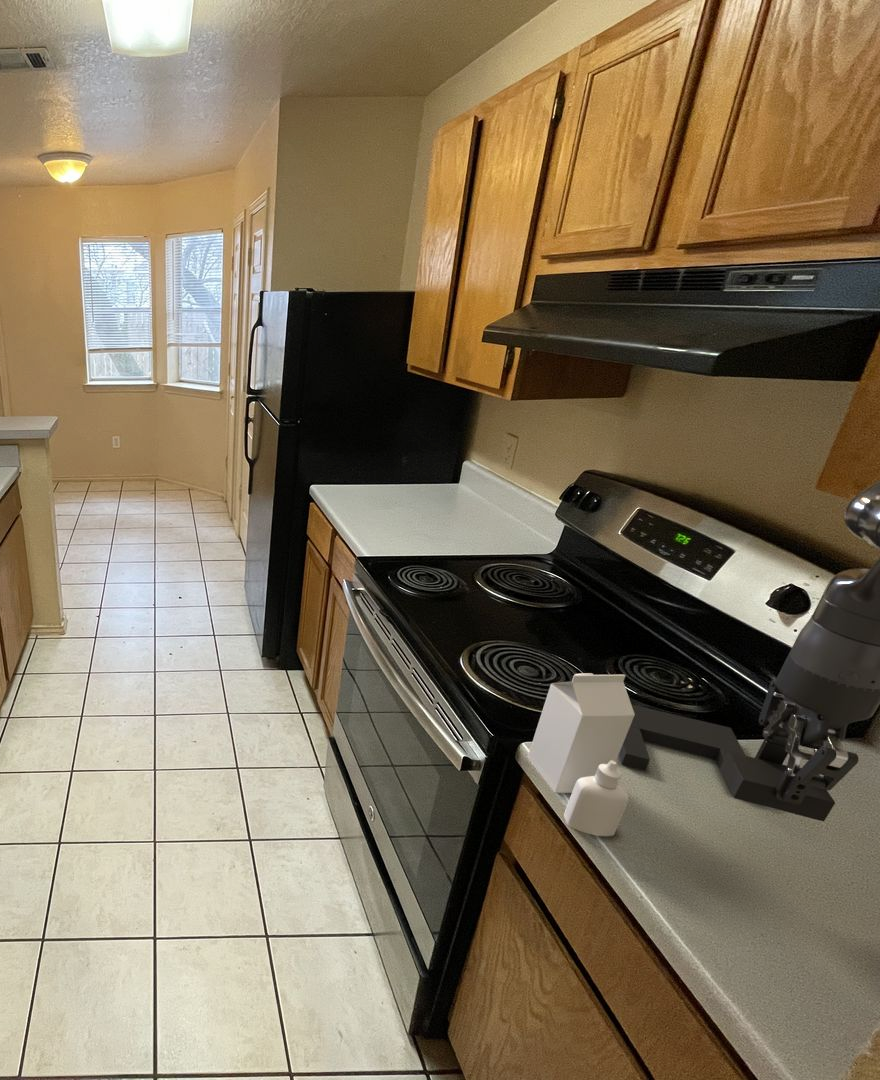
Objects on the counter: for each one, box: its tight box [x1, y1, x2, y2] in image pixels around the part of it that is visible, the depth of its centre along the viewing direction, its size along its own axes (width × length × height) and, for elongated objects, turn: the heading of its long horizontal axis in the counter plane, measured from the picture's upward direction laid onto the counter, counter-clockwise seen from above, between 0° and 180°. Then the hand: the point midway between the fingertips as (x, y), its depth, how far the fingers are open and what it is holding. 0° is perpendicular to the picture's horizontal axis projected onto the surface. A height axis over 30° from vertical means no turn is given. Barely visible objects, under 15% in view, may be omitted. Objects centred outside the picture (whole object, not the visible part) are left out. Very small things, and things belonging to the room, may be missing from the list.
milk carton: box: [527, 672, 635, 794], centre depth 85 cm, size 7×7×19 cm
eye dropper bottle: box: [563, 760, 629, 837], centre depth 78 cm, size 4×6×12 cm
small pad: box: [719, 752, 836, 822], centre depth 70 cm, size 8×5×3 cm, turn 64°
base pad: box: [618, 703, 747, 795], centre depth 92 cm, size 16×14×3 cm
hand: (775, 782), depth 70 cm, fingers closed on small pad, 5 cm apart
